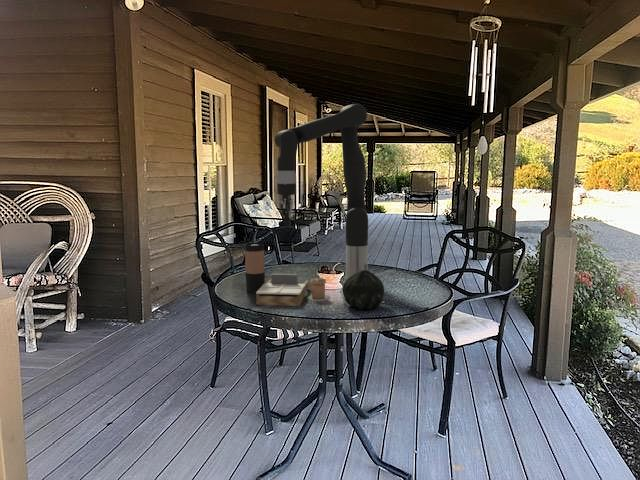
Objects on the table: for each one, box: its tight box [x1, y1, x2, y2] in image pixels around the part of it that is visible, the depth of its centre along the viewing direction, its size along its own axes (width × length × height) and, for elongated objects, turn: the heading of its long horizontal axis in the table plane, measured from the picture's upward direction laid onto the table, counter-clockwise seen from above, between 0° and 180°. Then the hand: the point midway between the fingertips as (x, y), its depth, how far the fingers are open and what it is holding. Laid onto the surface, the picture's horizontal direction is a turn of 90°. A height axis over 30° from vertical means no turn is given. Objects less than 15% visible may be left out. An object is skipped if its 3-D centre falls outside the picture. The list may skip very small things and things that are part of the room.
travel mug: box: [244, 242, 266, 294], centre depth 203 cm, size 8×8×20 cm
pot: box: [310, 277, 327, 300], centre depth 193 cm, size 6×6×7 cm
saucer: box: [306, 294, 331, 302], centre depth 193 cm, size 9×9×1 cm
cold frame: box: [255, 278, 310, 307], centre depth 195 cm, size 16×24×5 cm, turn 174°
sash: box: [255, 273, 306, 295], centre depth 190 cm, size 16×14×4 cm
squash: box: [342, 270, 385, 311], centre depth 182 cm, size 14×15×15 cm
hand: (287, 226), depth 201 cm, fingers closed
